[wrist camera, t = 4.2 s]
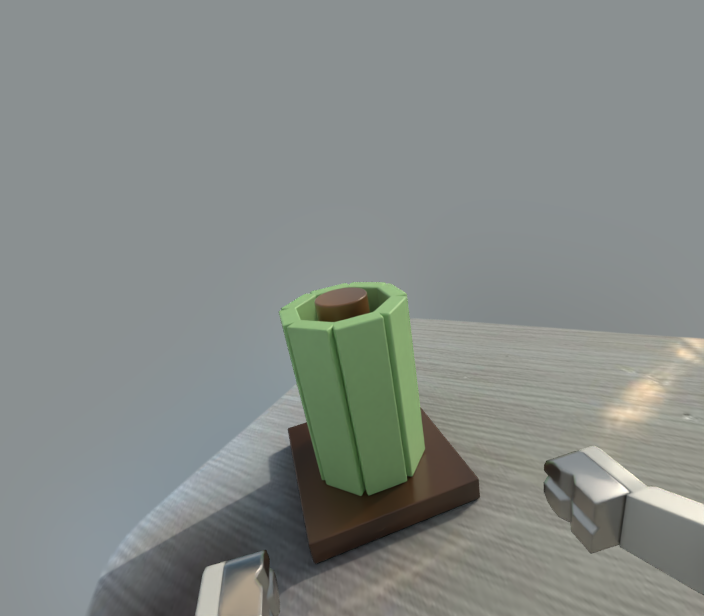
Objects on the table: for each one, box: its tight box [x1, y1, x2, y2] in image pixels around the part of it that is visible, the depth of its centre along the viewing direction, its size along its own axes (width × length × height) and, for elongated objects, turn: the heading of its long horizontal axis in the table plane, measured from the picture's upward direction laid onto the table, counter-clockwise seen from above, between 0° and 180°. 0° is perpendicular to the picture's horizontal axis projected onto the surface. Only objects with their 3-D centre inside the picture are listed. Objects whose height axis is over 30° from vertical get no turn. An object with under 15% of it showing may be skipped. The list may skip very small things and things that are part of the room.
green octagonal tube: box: [279, 282, 425, 496], centre depth 18 cm, size 6×6×8 cm
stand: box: [288, 287, 480, 564], centre depth 18 cm, size 8×8×10 cm
